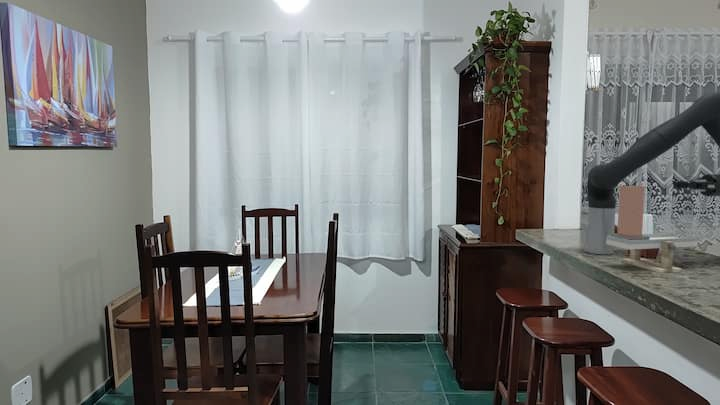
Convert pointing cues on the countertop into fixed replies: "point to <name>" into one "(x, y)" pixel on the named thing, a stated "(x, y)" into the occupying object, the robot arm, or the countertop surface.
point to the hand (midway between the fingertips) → (675, 184)
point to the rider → (630, 213)
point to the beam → (651, 241)
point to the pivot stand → (652, 265)
